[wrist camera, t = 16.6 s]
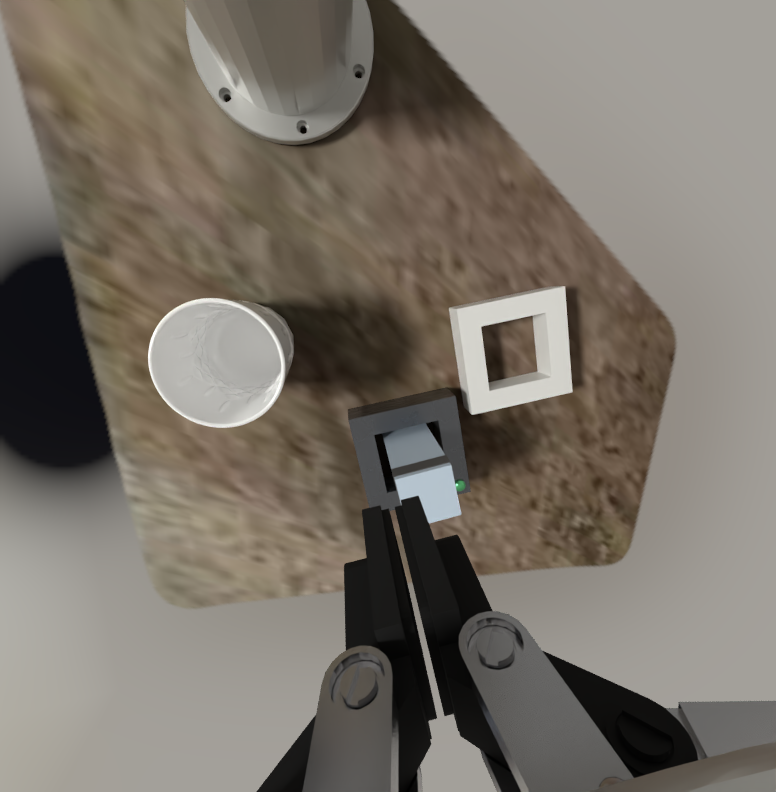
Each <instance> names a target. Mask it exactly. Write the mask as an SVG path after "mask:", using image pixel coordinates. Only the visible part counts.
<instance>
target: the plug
mask: <svg viewBox="0 0 776 792" xmlns="http://www.w3.org/2000/svg"><path fill="white" fill-rule="evenodd" d="M382 435H383V439H384V443H385V447H386V451H387V455H388V459H389V463H390V467H391V471H392V474H393V478H394V482H395V486H396V490H397V494H398V498H399V502H400V505H401V500H403V499H407V498H410V497H414V496H419V498H420V501H421V503H422V506H423V509H424V512H425V515H426V517H427V520H428V523H432V522H436V521H440V520H443V519H447V518H451V517H454V516H458V515H461V510H460V505H459V500H458V495H457V491H456V486H455V481H454V476H453V471H452V466H451V462H450V460H449V459H448V457H447V456H446V455H445V454H444V452H443V451H442V449H441V448H440V446H439V444H438V443H437V441H436V439H435V438H434V436H433V435H432V433H431V431H430V430H429V428H428V427H427V425H426V423H425V424H420V425H416V426H411V427H407V428H403V429H398V430H394V431H390V432H385V433H382Z"/></svg>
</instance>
